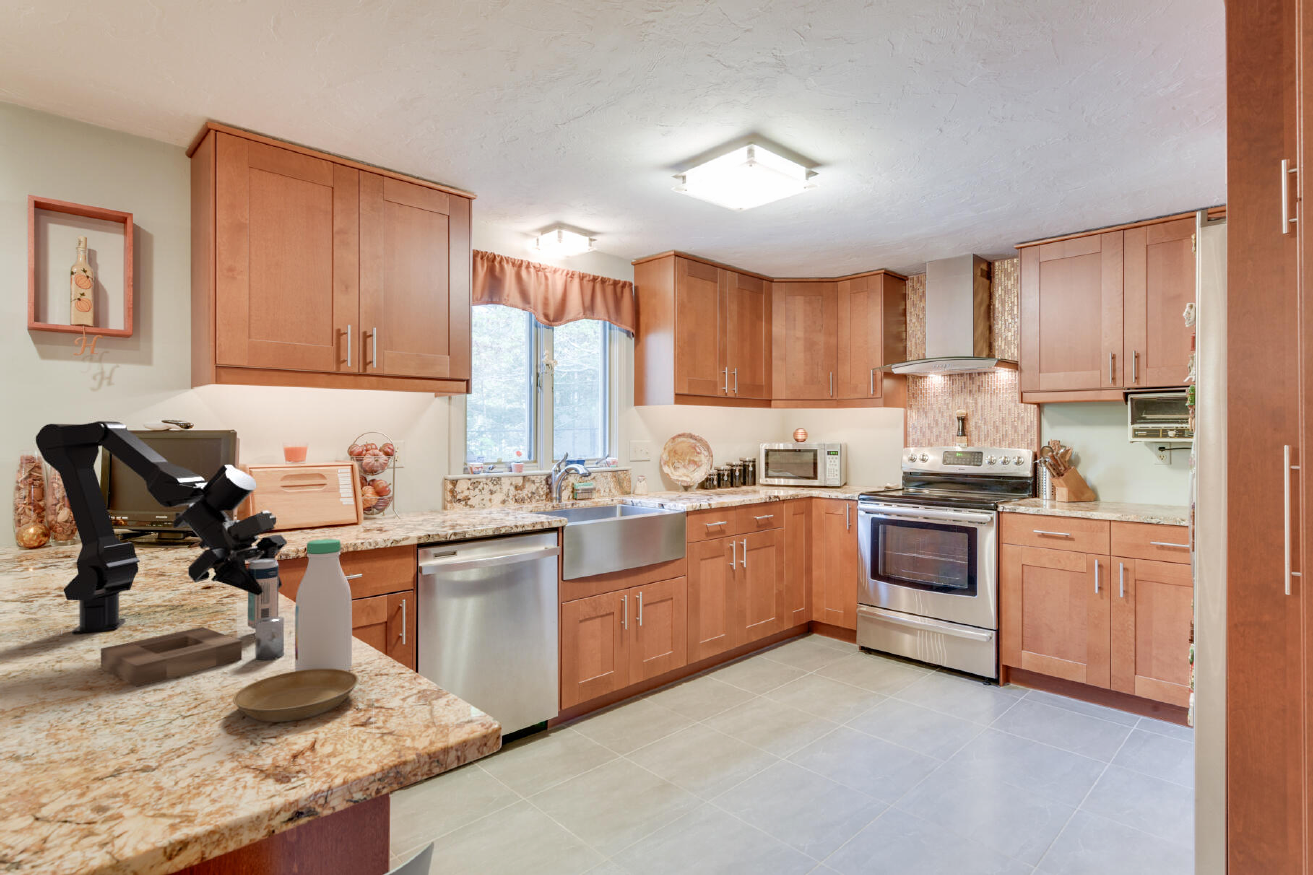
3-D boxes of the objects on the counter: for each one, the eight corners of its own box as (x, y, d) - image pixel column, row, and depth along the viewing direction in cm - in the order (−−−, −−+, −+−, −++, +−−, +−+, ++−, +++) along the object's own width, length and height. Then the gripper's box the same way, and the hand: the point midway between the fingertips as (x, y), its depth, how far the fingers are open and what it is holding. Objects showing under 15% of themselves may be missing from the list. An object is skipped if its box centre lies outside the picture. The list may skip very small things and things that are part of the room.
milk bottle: (363, 666, 103) (363, 538, 103) (323, 684, 95) (323, 546, 95) (324, 661, 105) (324, 536, 105) (282, 677, 98) (282, 543, 98)
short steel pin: (256, 654, 108) (256, 618, 108) (284, 651, 110) (284, 615, 110) (254, 662, 105) (254, 624, 105) (283, 658, 107) (283, 621, 107)
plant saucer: (211, 712, 86) (211, 692, 86) (322, 678, 98) (322, 660, 98) (267, 741, 78) (267, 719, 78) (380, 700, 90) (380, 681, 90)
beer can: (283, 622, 123) (284, 558, 123) (266, 630, 118) (267, 563, 118) (259, 621, 123) (260, 557, 123) (241, 629, 118) (242, 562, 118)
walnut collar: (100, 667, 102) (100, 648, 102) (202, 644, 114) (202, 626, 114) (136, 686, 95) (136, 665, 95) (241, 659, 106) (241, 640, 106)
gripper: (204, 502, 112) (264, 570, 111) (278, 493, 130) (330, 551, 129) (161, 548, 112) (220, 615, 111) (240, 532, 131) (292, 589, 130)
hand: (270, 590), depth 120 cm, fingers closed on beer can, 5 cm apart
